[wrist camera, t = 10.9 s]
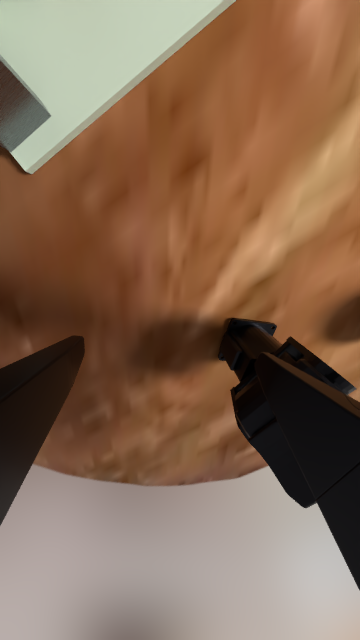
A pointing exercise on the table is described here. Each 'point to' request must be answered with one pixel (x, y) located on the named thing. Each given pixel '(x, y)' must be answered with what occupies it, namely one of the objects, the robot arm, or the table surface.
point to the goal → (17, 108)
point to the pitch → (90, 56)
